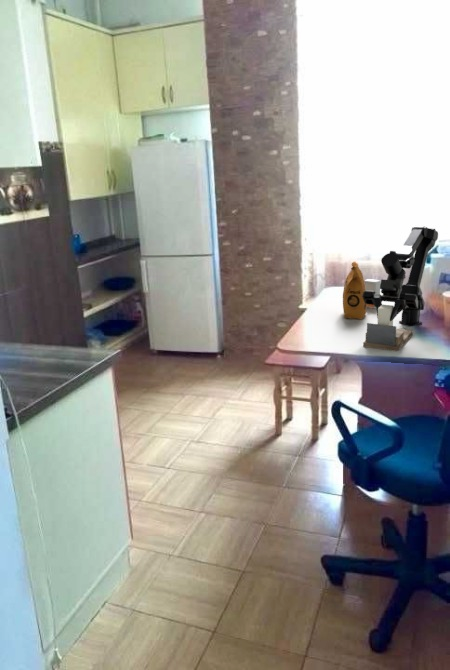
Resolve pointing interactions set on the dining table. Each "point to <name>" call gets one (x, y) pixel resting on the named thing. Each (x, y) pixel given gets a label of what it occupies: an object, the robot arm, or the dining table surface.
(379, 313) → the white rectangular block
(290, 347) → the dining table surface
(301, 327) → the dining table surface
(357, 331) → the dining table surface
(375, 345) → the shelf plank
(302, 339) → the dining table surface
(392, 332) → the bookend
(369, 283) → the skincare box
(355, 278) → the coffee package
